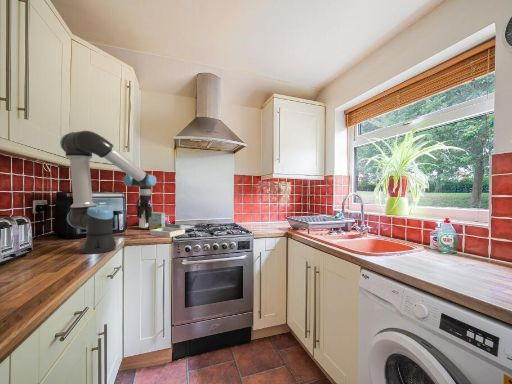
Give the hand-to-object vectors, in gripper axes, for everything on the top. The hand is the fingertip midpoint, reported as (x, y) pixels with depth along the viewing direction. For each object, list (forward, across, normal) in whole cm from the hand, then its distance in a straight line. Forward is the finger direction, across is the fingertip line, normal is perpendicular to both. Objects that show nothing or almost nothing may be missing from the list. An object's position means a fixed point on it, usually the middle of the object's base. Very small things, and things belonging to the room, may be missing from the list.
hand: (143, 226), depth 163 cm
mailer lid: (+2, -10, -26) cm, 28 cm away
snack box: (+6, +17, -25) cm, 31 cm away
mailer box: (+6, -10, -14) cm, 18 cm away
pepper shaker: (+1, 0, 0) cm, 1 cm away
